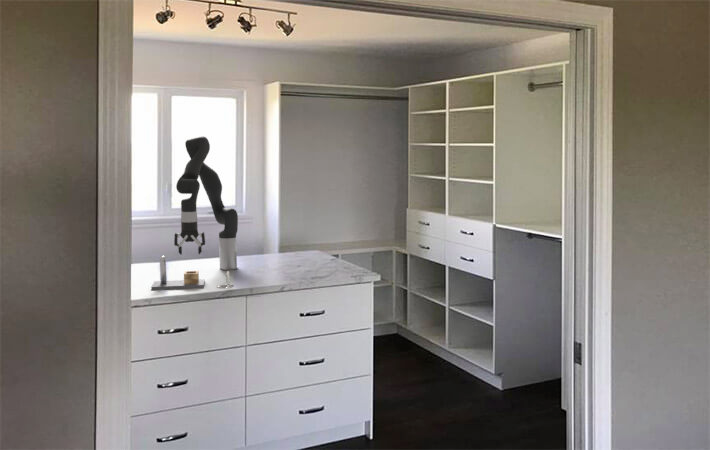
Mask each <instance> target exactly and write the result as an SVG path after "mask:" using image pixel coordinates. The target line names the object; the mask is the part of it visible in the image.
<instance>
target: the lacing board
mask: <svg viewBox="0 0 710 450" xmlns="http://www.w3.org/2000/svg"><path fill="white" fill-rule="evenodd" d="M205 285H206V279H203V278H202V279H199V282H198V284H184V279H179V280H178V279H175V280H167V284H161V280H156V281H155V280H154V282H153V284H152V285H151V287H150V289H151V291H158V290H159V291H161V290H164V291H165V290H186V289H188V290H189V289H204V288H205Z"/></svg>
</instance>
